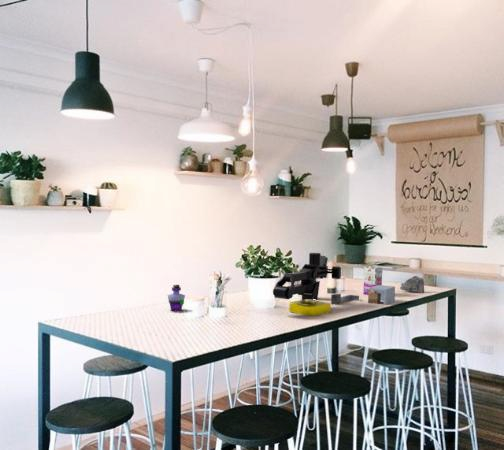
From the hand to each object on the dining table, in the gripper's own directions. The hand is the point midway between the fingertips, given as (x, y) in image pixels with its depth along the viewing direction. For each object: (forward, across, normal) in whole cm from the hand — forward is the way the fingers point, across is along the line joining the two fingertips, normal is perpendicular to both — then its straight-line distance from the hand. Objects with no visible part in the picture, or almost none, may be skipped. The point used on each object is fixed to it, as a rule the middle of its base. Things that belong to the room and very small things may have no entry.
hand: (330, 270), depth 280 cm
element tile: (-34, -6, +17) cm, 39 cm away
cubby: (+16, -23, +16) cm, 32 cm away
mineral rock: (+64, -25, +17) cm, 70 cm away
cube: (+11, -20, +17) cm, 29 cm away
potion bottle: (-70, +46, +17) cm, 86 cm away
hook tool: (+3, -8, +17) cm, 19 cm away
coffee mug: (+2, +12, +17) cm, 21 cm away
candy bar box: (+36, -10, +17) cm, 41 cm away
